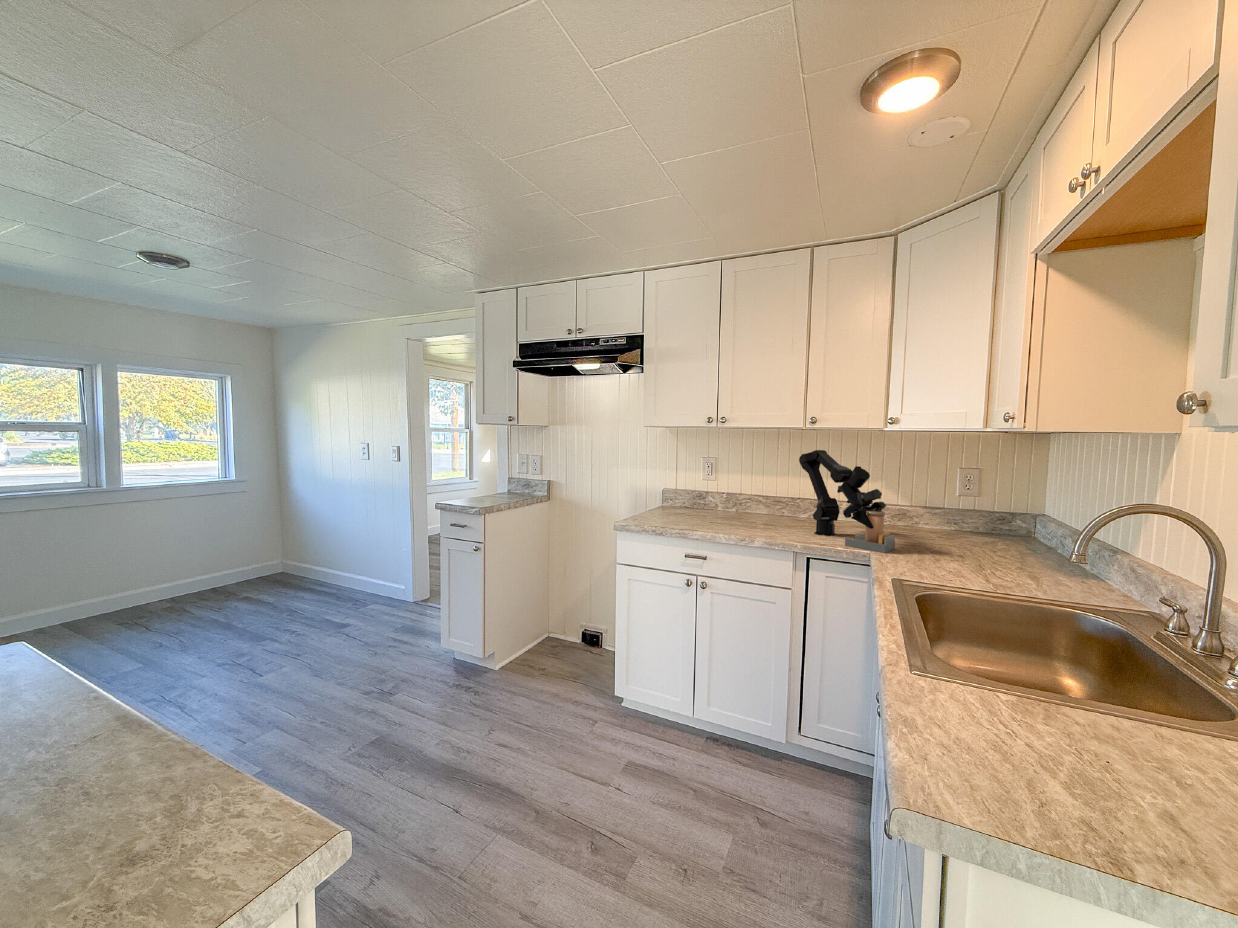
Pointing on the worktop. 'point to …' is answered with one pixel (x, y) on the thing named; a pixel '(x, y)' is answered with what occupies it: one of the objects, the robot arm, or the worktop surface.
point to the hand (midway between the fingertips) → (877, 527)
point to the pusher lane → (871, 544)
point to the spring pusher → (882, 536)
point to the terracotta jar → (874, 525)
